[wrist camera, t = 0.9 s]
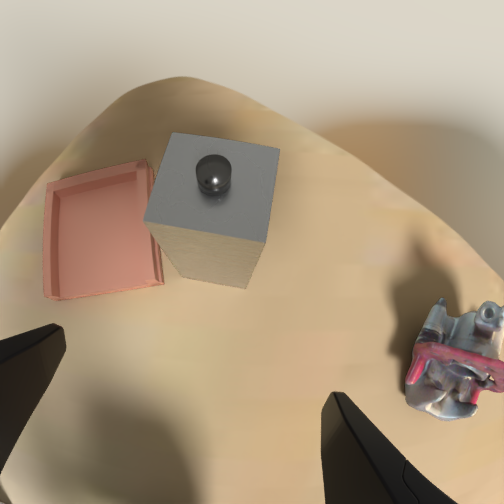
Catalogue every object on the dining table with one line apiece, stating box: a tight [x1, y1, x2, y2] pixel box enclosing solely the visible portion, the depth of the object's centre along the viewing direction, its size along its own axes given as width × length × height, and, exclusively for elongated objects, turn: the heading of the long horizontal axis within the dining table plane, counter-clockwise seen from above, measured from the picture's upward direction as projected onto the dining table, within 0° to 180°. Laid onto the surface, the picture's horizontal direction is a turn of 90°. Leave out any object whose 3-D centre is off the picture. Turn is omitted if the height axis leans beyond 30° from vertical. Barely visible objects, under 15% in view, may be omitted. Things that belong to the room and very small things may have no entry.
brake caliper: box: [405, 298, 504, 421], centre depth 19 cm, size 11×11×12 cm
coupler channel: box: [43, 159, 164, 301], centre depth 22 cm, size 10×10×2 cm
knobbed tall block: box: [143, 132, 280, 289], centre depth 18 cm, size 4×5×13 cm
